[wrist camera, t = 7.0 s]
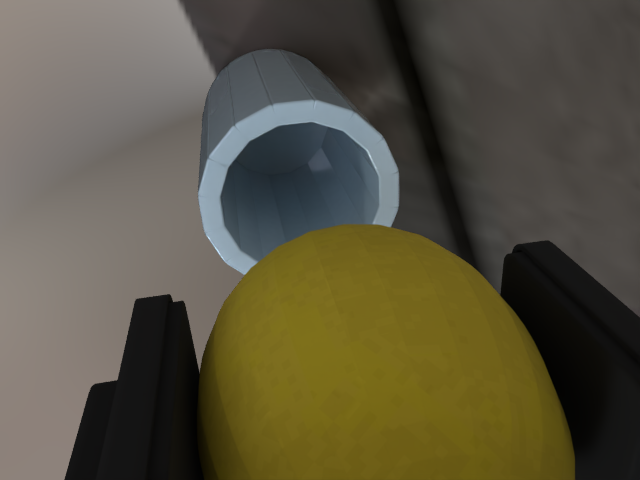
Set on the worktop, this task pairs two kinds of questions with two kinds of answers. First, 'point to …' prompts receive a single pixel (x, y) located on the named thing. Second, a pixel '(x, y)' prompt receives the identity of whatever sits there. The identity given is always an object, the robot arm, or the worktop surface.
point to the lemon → (374, 370)
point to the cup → (286, 158)
